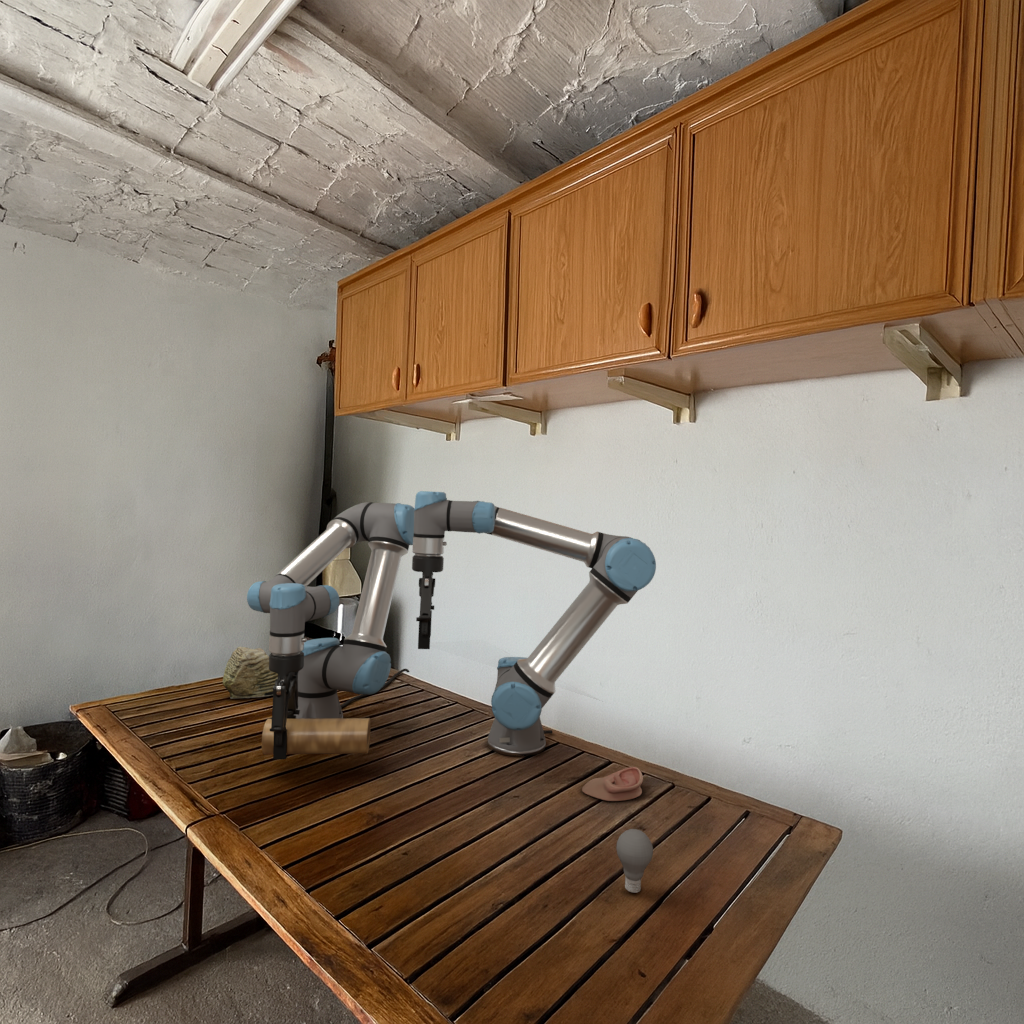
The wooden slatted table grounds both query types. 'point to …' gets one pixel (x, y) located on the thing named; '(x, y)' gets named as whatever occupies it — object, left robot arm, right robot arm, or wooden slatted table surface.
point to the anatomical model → (616, 785)
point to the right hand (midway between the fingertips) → (424, 642)
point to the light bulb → (634, 857)
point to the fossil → (249, 674)
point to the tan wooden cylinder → (322, 736)
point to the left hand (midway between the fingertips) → (284, 750)
